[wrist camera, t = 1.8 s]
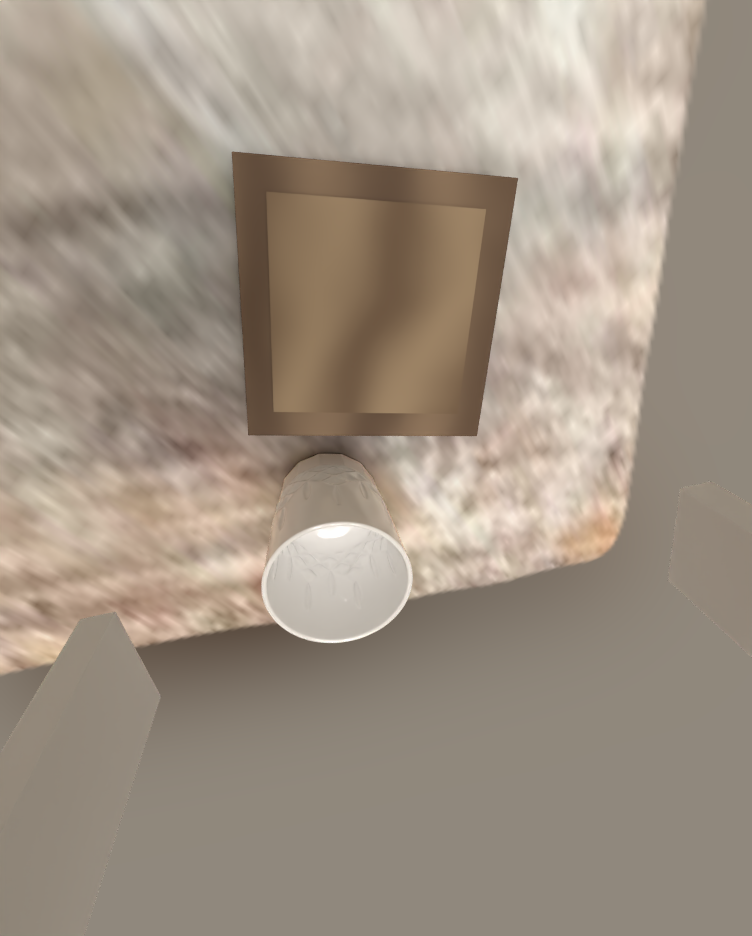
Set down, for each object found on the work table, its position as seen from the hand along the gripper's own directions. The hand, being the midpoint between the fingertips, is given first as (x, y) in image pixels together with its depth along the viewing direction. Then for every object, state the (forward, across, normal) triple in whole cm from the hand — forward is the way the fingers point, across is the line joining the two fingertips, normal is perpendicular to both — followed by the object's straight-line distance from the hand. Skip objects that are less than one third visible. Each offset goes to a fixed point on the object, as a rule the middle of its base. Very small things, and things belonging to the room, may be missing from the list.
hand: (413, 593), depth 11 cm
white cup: (+21, -3, -8) cm, 23 cm away
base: (+21, +2, +4) cm, 22 cm away
